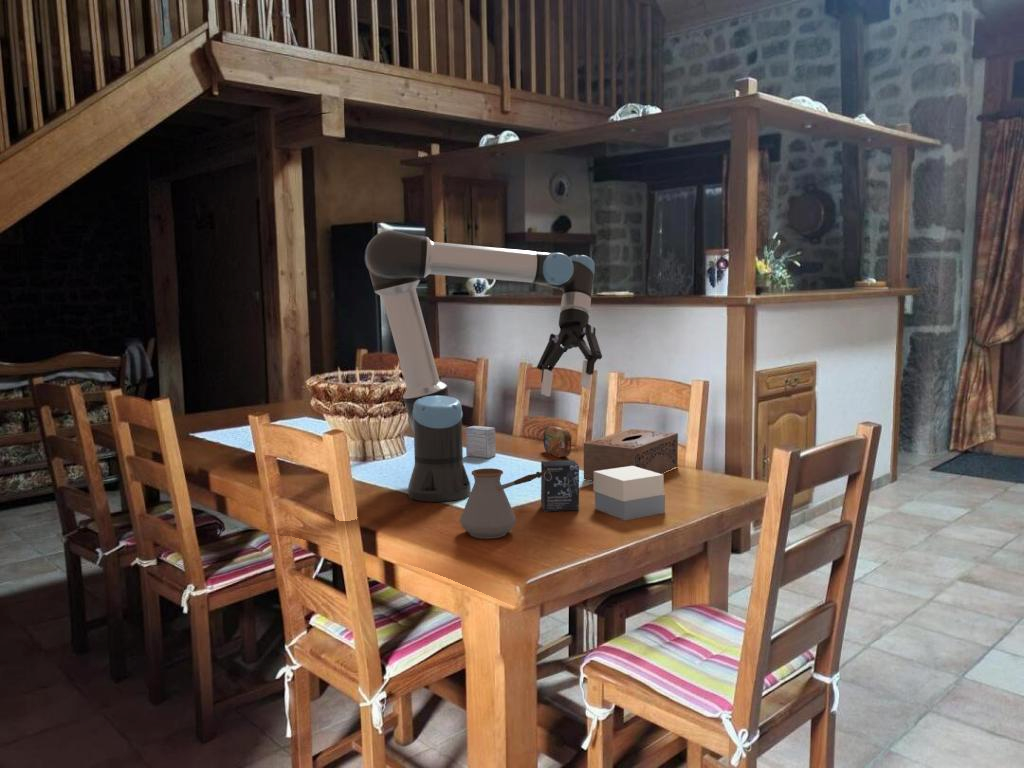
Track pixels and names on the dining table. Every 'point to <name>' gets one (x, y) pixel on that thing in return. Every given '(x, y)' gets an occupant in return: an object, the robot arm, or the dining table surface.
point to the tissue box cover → (632, 451)
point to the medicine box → (480, 442)
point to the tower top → (628, 483)
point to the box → (560, 486)
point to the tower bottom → (630, 506)
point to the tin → (557, 441)
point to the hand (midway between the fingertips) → (564, 391)
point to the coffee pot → (491, 504)
